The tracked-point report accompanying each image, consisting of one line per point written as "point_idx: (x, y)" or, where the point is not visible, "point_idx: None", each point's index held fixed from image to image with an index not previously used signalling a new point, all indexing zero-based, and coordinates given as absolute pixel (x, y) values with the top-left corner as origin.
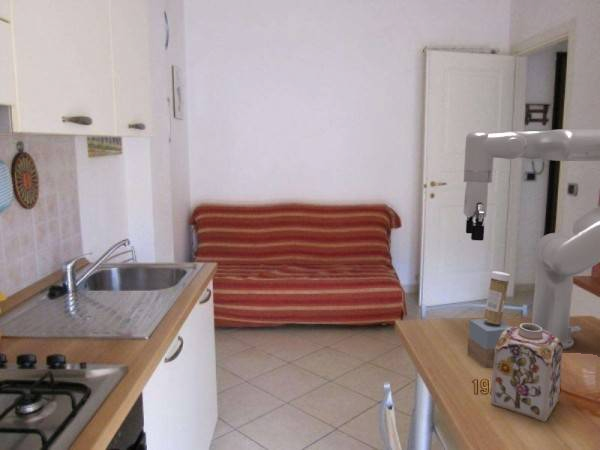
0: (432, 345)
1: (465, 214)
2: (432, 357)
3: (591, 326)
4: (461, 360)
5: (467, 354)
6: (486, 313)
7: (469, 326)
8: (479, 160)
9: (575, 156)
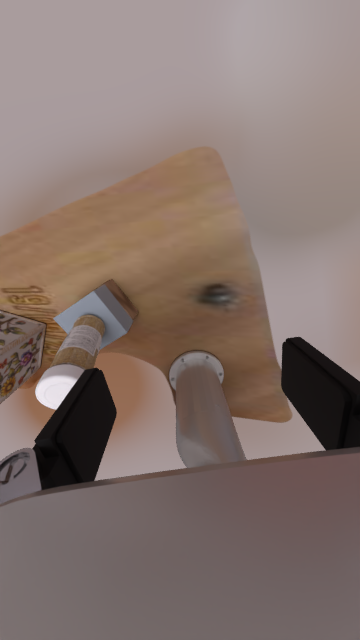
0: (122, 224)
1: (187, 485)
2: (77, 228)
3: (257, 417)
4: (88, 271)
5: (111, 279)
6: (76, 324)
7: (98, 288)
8: None
9: None
